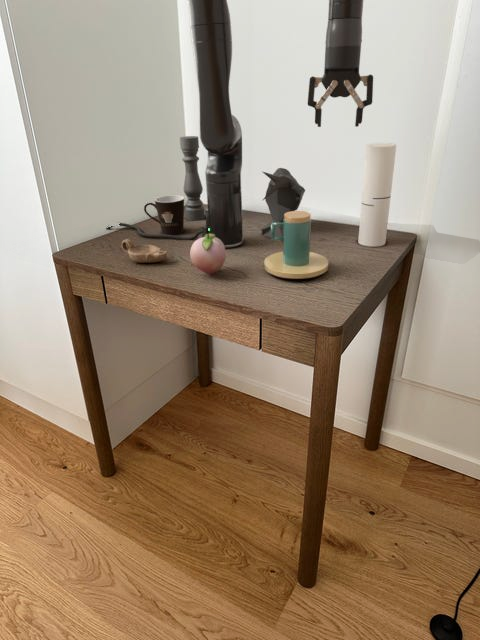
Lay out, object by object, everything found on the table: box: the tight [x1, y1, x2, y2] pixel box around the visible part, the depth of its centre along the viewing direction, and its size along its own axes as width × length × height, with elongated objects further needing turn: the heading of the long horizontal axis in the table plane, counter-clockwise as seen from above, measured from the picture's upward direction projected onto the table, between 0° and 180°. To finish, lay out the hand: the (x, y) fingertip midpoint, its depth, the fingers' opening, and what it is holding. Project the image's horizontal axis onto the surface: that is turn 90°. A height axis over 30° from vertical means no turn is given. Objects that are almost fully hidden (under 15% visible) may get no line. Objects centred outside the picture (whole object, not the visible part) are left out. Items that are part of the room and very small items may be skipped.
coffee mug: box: [143, 194, 185, 236], centre depth 137 cm, size 12×9×10 cm
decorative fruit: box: [189, 233, 227, 275], centre depth 106 cm, size 9×8×10 cm
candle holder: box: [179, 135, 206, 222], centre depth 146 cm, size 6×6×25 cm
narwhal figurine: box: [261, 167, 306, 238], centre depth 133 cm, size 14×15×18 cm
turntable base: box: [273, 275, 320, 282], centre depth 108 cm, size 12×12×1 cm
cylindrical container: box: [357, 142, 397, 248], centre depth 119 cm, size 7×7×25 cm
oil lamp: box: [120, 238, 168, 264], centre depth 117 cm, size 13×8×5 cm, turn 61°
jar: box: [263, 210, 329, 279], centre depth 105 cm, size 15×15×12 cm
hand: (337, 126), depth 106 cm, fingers open, 8 cm apart
